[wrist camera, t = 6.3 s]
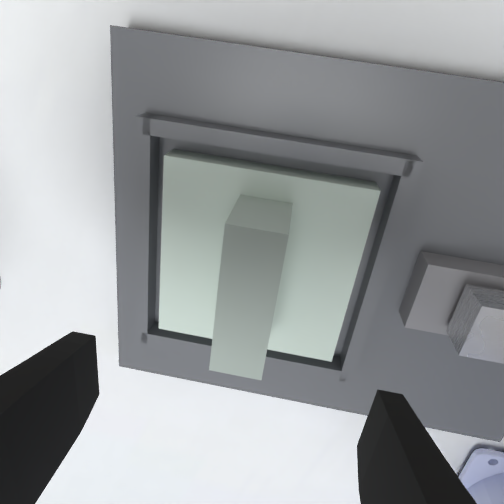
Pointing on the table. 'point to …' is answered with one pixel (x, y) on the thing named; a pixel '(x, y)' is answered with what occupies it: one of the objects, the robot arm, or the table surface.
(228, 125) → the panel
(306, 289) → the cover
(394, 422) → the robot arm
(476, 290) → the brushed metal bar
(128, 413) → the table surface
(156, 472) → the table surface
